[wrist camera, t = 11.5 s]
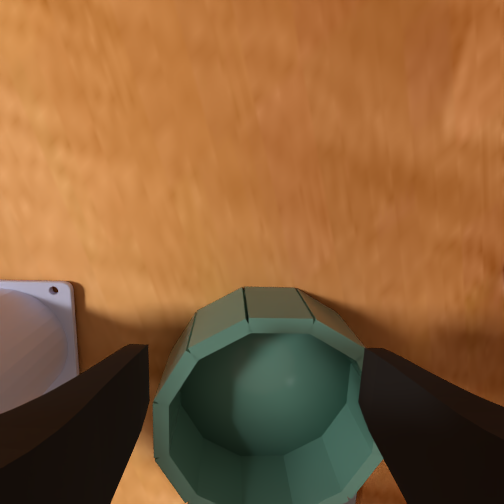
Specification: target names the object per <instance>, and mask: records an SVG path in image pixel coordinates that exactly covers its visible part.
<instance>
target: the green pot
mask: <svg viewBox="0 0 504 504" xmlns="http://www.w3.org/2000/svg"><path fill="white" fill-rule="evenodd" d="M365 348H366V347H365V346H364V345H363V344H362V342H361V341H360V340H359V339H358V337H357V336H356V335H355V334H354V333H353V331H352V330H351V329H350V328H349V326H348V325H347V324H346V323H345V322H344V320H343V319H342V318H341V317H340V315H339V314H338V313H337V312H335V311H334V310H332V309H330V308H329V307H327V306H325V305H324V304H322V303H320V302H319V301H317V300H315V299H314V298H312V297H310V296H309V295H307V294H305V293H304V292H302V291H300V290H299V289H295V288H284V287H245V290H243V288H240V289H238V290H236V291H234V292H232V293H230V294H228V295H226V296H224V297H222V298H221V299H219V300H217V301H215V302H213V303H211V304H209V305H207V306H205V307H203V308H201V309H199V310H198V311H197V313H195V314H194V316H193V317H192V319H191V321H190V322H189V324H188V325H187V327H186V328H185V330H184V332H183V333H182V335H181V336H180V338H179V340H178V341H177V343H176V344H175V346H174V347H173V349H172V351H171V352H170V355H169V358H168V361H167V364H166V367H165V370H164V372H163V375H162V378H161V381H160V384H159V387H158V389H157V392H156V395H155V398H154V401H153V443H154V458H155V461H156V463H157V464H158V466H159V467H160V468H161V470H162V471H163V473H164V474H165V475H166V477H167V478H168V480H169V481H170V482H171V484H172V485H173V487H174V488H175V489H176V491H177V492H178V494H179V495H180V496H181V498H182V499H183V501H184V502H185V503H186V502H188V504H344V503H346V502H348V501H349V499H348V498H351V499H352V498H353V496H354V495H355V494H356V493H357V491H358V490H359V489H360V488H361V486H362V485H363V484H364V482H365V481H366V480H367V479H368V477H369V476H370V475H371V474H372V472H373V471H374V470H375V468H376V467H377V466H378V465H379V463H380V462H381V461H382V460H383V457H382V455H381V453H380V451H379V449H378V448H377V446H376V444H375V442H374V440H373V438H372V436H371V434H370V432H369V430H368V428H367V425H366V422H365V420H364V417H363V414H362V412H361V409H360V406H359V403H358V399H359V390H360V382H361V374H362V365H363V357H364V349H365Z"/></svg>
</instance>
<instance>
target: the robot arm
mask: <svg viewBox="0 0 504 504" xmlns="http://www.w3.org/2000/svg"><path fill="white" fill-rule="evenodd" d="M53 286H54V287H56V288H57V289H58V293H56V292H54V291H53V289H52V287H53ZM149 401H150V399H149V357H148V345H139V344H129V345H127V346H125V347H123V348H122V349H120V350H118V351H117V352H115V353H113V354H112V355H110V356H109V357H107V358H106V359H104V360H102V361H101V362H99V363H98V364H96V365H94V366H93V367H91V368H90V369H88V370H87V371H85V372H83V373H81V374H80V375H79V362H78V347H77V333H76V318H75V304H74V289H73V286H72V285H71V283H69V282H67V281H37V280H0V504H110V503H111V501H112V498H113V496H114V494H115V491H116V489H117V487H118V484H119V482H120V480H121V477H122V475H123V473H124V470H125V468H126V465H127V463H128V461H129V458H130V456H131V454H132V451H133V449H134V447H135V444H136V442H137V439H138V437H139V434H140V432H141V429H142V426H143V423H144V419H145V416H146V412H147V408H148V404H149ZM358 403H359V406H360V409H361V412H362V414H363V417H364V420H365V422H366V425H367V428H368V430H369V432H370V434H371V436H372V438H373V440H374V442H375V444H376V446H377V448H378V449H379V451H380V453H381V455H382V457H383V459H384V461H385V463H386V464H387V466H388V468H389V470H390V472H391V474H392V476H393V477H394V479H395V481H396V483H397V485H398V487H399V489H400V491H401V492H402V494H403V496H404V498H405V500H406V502H407V504H504V407H502V406H500V405H497V404H495V403H493V402H490V401H488V400H485V399H483V398H481V397H479V396H476V395H474V394H472V393H470V392H468V391H466V390H464V389H462V388H460V387H458V386H456V385H453V384H451V383H450V382H448V381H446V380H444V379H442V378H440V377H438V376H436V375H434V374H432V373H430V372H428V371H427V370H425V369H423V368H421V367H419V366H417V365H415V364H414V363H412V362H410V361H408V360H406V359H404V358H402V357H400V356H398V355H396V354H394V353H392V352H390V351H388V350H385V349H383V348H365V349H364V357H363V365H362V374H361V382H360V390H359V399H358Z"/></svg>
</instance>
